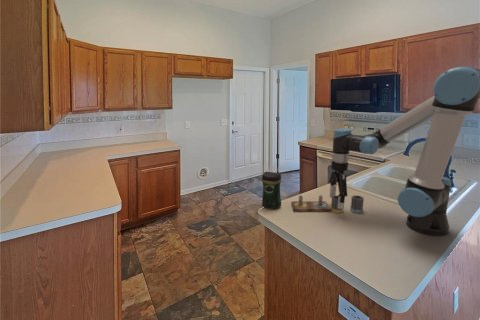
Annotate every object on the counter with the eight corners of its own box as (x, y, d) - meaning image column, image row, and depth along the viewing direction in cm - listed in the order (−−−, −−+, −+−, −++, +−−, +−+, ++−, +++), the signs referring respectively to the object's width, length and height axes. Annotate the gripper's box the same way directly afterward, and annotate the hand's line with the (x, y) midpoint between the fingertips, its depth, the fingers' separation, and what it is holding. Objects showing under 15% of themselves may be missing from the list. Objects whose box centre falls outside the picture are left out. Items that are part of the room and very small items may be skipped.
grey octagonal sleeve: (365, 211, 132) (366, 197, 131) (358, 213, 130) (359, 200, 128) (354, 207, 137) (356, 194, 135) (348, 210, 134) (349, 196, 133)
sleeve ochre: (345, 211, 133) (346, 197, 131) (337, 214, 130) (338, 200, 128) (335, 207, 137) (336, 194, 136) (328, 210, 135) (329, 197, 133)
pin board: (325, 203, 142) (326, 191, 141) (330, 211, 132) (331, 198, 131) (291, 204, 143) (291, 192, 142) (294, 211, 133) (294, 199, 132)
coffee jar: (282, 205, 142) (283, 171, 138) (277, 210, 135) (277, 175, 131) (265, 202, 146) (266, 169, 142) (260, 207, 140) (259, 173, 135)
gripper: (325, 155, 140) (322, 193, 145) (340, 168, 116) (336, 213, 121) (339, 155, 140) (336, 193, 145) (357, 168, 116) (353, 213, 121)
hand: (336, 202), depth 133 cm, fingers open, 13 cm apart
